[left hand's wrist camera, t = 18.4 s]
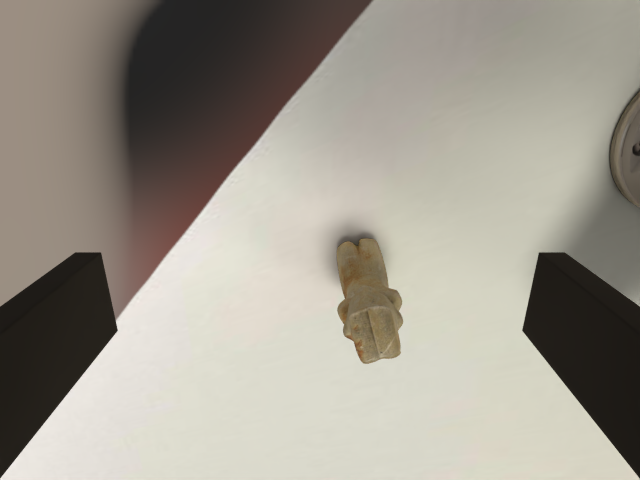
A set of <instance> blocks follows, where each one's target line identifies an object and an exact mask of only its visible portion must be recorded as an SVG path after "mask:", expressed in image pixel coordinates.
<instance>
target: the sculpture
mask: <svg viewBox="0 0 640 480" xmlns="http://www.w3.org/2000/svg"><path fill="white" fill-rule="evenodd" d="M337 263H338V270H339V277H340V282H341V286H342V291H343V294H344V297H345V299H344V300H343V301H342V302H341V303H340V304H339V306H338V309H337V311H338V314H339V317H340V319H341V320H342V322H343V324H344V327H343V333H344V336H345V337H347V338H349V339H351V340H353V341H354V343H355V347H356V351H357V353H358V356H359V358H360V360H361V361H362V362H363V363H364V364H369V363H372V362H375V361H377V360H379V359H383V358H386V359H389V358H395V357H397V356H399V355H400V353H401V352H400V340H399V335H398V330H399V328H400V327H401V326H402V324H403V319H402V316H401V314H400V312H399V310H400V308H401V305H402V299H401V297H400V295H399V293H398V291H397V290H393V289H390V288H388V279H387V273H386V269H385V265H384V261H383V257H382V254H381V251H380V248H379V245H378V243H377V241H375V240H374V239H360V241H359V244H358V246H356V245H354V244H353V243H351V242H349V241H347V242H344V243H342V244H341V245H339V247H338V249H337Z"/></svg>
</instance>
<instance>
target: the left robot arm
mask: <svg viewBox="0 0 640 480" xmlns="http://www.w3.org/2000/svg"><path fill="white" fill-rule="evenodd" d="M610 164H611V171H612V175H613V178H614V181H615V183H616V185H617V187H618V189H619V190H620V192H621V193H622V194H623V195H624V196H625V197H626V198H627V199H628V200H629V201H630V202H632V203H633V204H635V205H637V206H638V207H640V91H639V92H638V94H637V95H636V96H635V97H634V98H633V99H632V101H631V102H630V104H629V105H628V106H627V108H626V110H625V111H624V113H623V115H622V116H621V118H620V120H619V122H618V125H617V127H616V130H615V133H614V136H613V140H612V144H611V152H610ZM117 331H118V330H117V325H116V321H115V316H114V311H113V307H112V302H111V297H110V293H109V288H108V283H107V278H106V274H105V269H104V265H103V260H102V255H101V253H74V254H73V255H71V256H70V257H69V258H67V259H66V260H64V261H63V262H62V263H60V264H59V265H57V266H56V267H55V268H53V269H52V270H51V271H49V272H48V273H46V274H45V275H44V276H42V277H41V278H40V279H38V280H37V281H35V282H34V283H33V284H31V285H30V286H28V287H27V288H26V289H24V290H23V291H21V292H20V293H19V294H17V295H16V296H15V297H13V298H12V299H10V300H9V301H8V302H6V303H5V304H3V305H2V306H1V307H0V478H1V477H2V475H3V474H4V473H5V472H6V470H7V469H8V468H9V467H10V465H11V464H12V463H13V462H14V460H15V459H16V458H17V457H18V455H19V454H20V453H21V451H22V450H23V449H24V448H25V446H26V445H27V444H28V443H29V441H30V440H31V439H32V438H33V436H34V435H35V434H36V433H37V431H38V430H39V429H40V428H41V426H42V425H43V424H44V423H45V421H46V420H47V419H48V418H49V416H50V415H51V414H52V413H53V411H54V410H55V409H56V407H57V406H58V405H59V404H60V402H61V401H62V400H63V399H64V397H65V396H66V395H67V394H68V392H69V391H70V390H71V389H72V387H73V386H74V385H75V384H76V382H77V381H78V380H79V379H80V377H81V376H82V375H83V374H84V372H85V371H86V370H87V368H88V367H89V366H90V365H91V363H92V362H93V361H94V360H95V358H96V357H97V356H98V355H99V353H100V352H101V351H102V350H103V348H104V347H105V346H106V345H107V343H108V342H109V341H110V340H111V338H112V337H113V336H114V335H115V333H116V332H117ZM522 331H523V332H524V333H525V335H526V336H527V337H528V338H529V340H530V341H531V342H532V343H533V345H534V346H535V347H536V348H537V350H538V351H539V352H540V353H541V355H542V356H543V357H544V358H545V360H546V361H547V362H548V363H549V365H550V366H551V367H552V368H553V370H554V371H555V372H556V374H557V375H558V376H559V377H560V379H561V380H562V381H563V382H564V384H565V385H566V386H567V387H568V389H569V390H570V391H571V392H572V394H573V395H574V396H575V397H576V399H577V400H578V401H579V402H580V404H581V405H582V406H583V407H584V409H585V410H586V411H587V413H588V414H589V415H590V416H591V418H592V419H593V420H594V421H595V423H596V424H597V425H598V426H599V428H600V429H601V430H602V431H603V433H604V434H605V435H606V436H607V438H608V439H609V440H610V441H611V443H612V444H613V445H614V446H615V448H616V449H617V450H618V451H619V453H620V454H621V455H622V457H623V458H624V459H625V460H626V462H627V463H628V464H629V465H630V467H631V468H632V469H633V470H634V472H635V473H636V474H637V475H638V477H639V478H640V307H639V306H638V305H637V304H635V303H634V302H632V301H631V300H630V299H628V298H627V297H626V296H624V295H623V294H621V293H620V292H619V291H617V290H616V289H614V288H613V287H612V286H610V285H609V284H608V283H606V282H605V281H603V280H602V279H601V278H599V277H598V276H596V275H595V274H594V273H592V272H591V271H589V270H588V269H587V268H585V267H584V266H583V265H581V264H580V263H578V262H577V261H576V260H574V259H573V258H571V257H570V256H569V255H567V254H566V253H539V255H538V260H537V264H536V269H535V274H534V278H533V283H532V288H531V293H530V297H529V302H528V307H527V311H526V316H525V321H524V325H523V330H522Z"/></svg>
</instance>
